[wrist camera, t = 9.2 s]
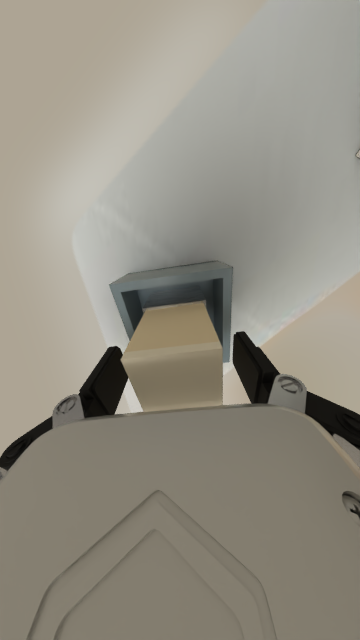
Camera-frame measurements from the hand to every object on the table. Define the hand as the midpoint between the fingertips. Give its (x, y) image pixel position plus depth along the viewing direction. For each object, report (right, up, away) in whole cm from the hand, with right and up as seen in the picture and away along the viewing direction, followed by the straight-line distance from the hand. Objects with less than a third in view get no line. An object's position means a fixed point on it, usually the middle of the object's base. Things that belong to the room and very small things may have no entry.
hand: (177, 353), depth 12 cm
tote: (0, +4, +8) cm, 9 cm away
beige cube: (0, +2, +3) cm, 3 cm away
